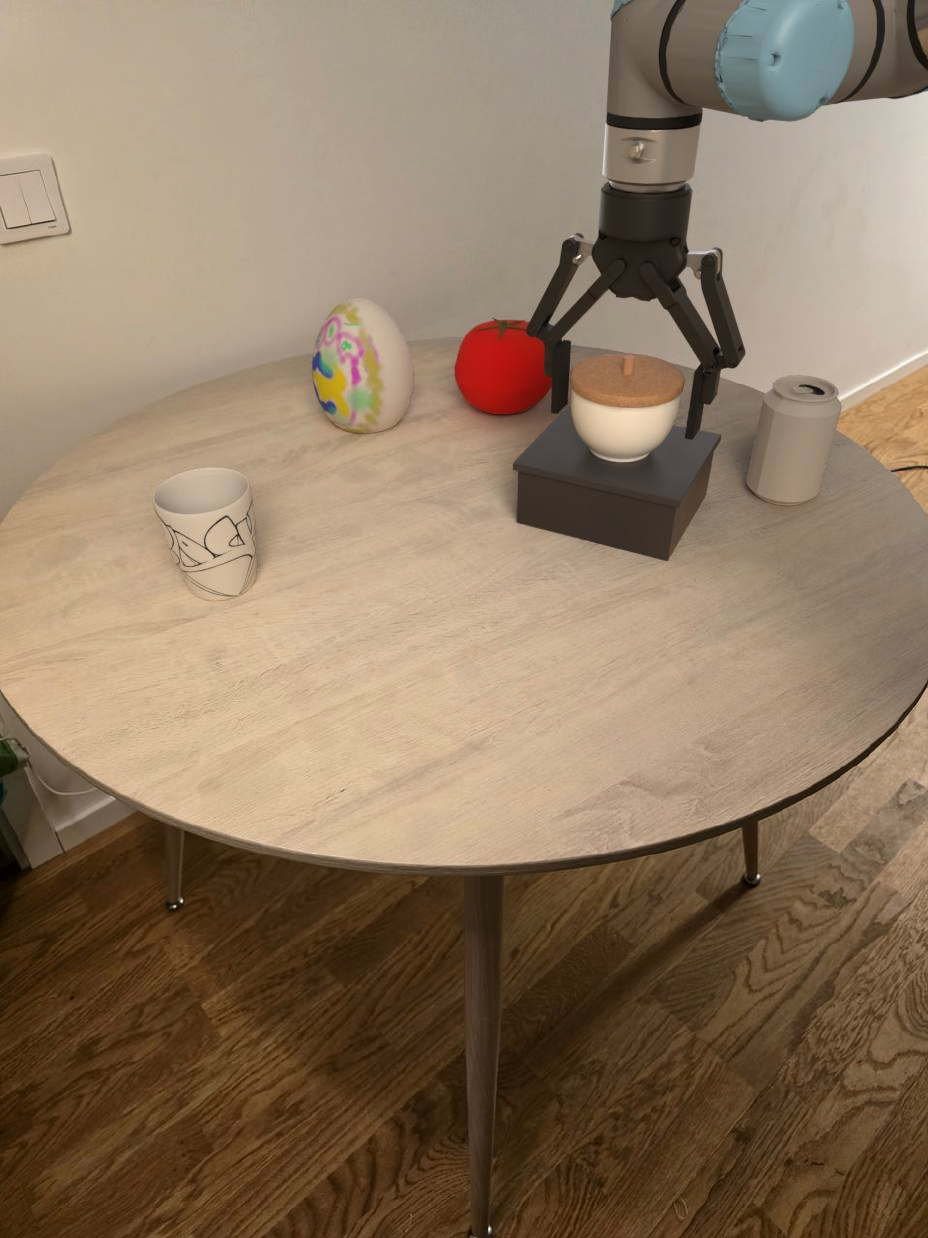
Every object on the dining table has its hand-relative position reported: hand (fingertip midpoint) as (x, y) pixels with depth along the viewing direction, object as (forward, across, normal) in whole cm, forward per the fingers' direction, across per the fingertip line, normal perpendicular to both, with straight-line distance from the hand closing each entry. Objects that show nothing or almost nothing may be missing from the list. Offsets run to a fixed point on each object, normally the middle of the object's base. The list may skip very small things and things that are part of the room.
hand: (623, 420), depth 84 cm
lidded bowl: (+3, 0, 0) cm, 3 cm away
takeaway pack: (+10, 0, 0) cm, 10 cm away
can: (+10, +15, +11) cm, 21 cm away
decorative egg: (+10, -35, +7) cm, 37 cm away
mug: (+10, -30, -28) cm, 42 cm away
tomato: (+10, -21, +18) cm, 30 cm away
